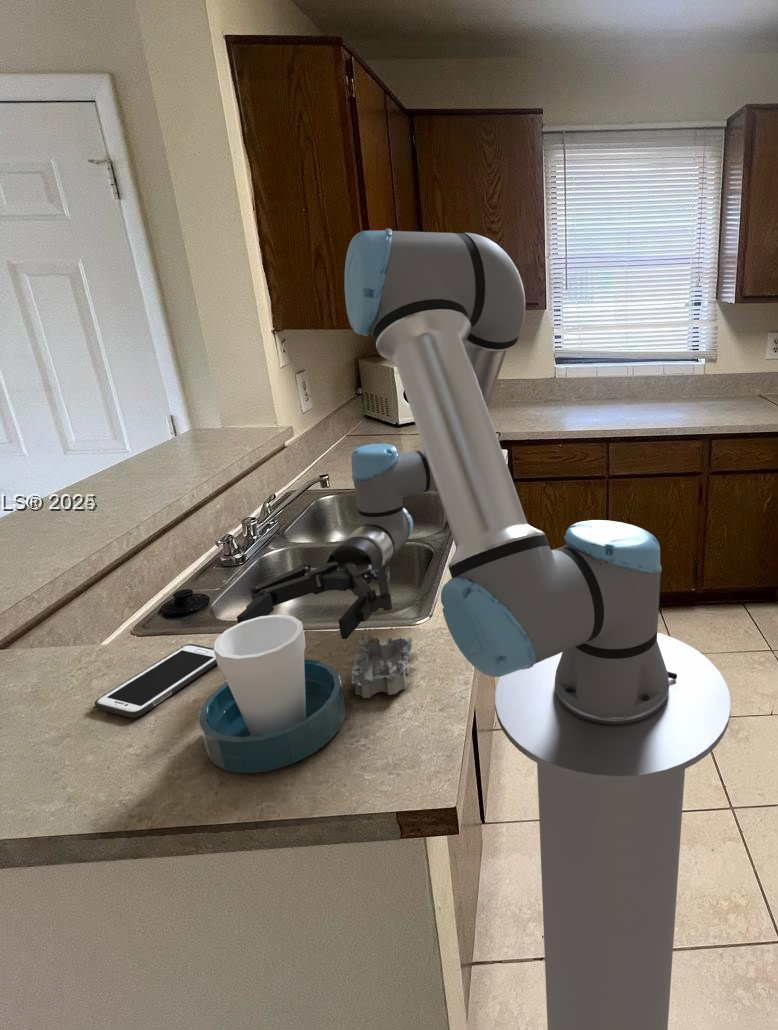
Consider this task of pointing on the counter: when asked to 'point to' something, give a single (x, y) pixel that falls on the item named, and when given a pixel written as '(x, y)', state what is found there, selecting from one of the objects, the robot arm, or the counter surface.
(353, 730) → the counter surface
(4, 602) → the counter surface
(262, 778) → the counter surface
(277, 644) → the foam cup
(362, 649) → the egg carton
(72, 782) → the counter surface
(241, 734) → the bowl
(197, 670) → the cell phone
